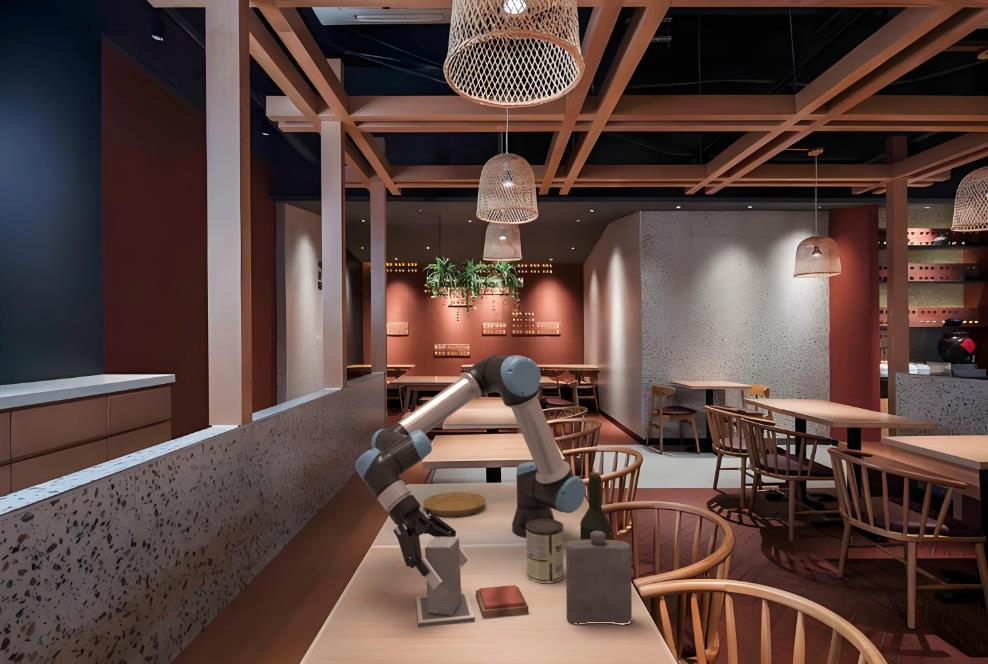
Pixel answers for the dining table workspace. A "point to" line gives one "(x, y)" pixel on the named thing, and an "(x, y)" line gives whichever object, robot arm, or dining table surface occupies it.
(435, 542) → the skincare box
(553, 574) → the coffee can
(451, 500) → the plant saucer
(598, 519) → the wine bottle
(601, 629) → the dining table surface
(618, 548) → the flask
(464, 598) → the marked board
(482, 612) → the ink pad
